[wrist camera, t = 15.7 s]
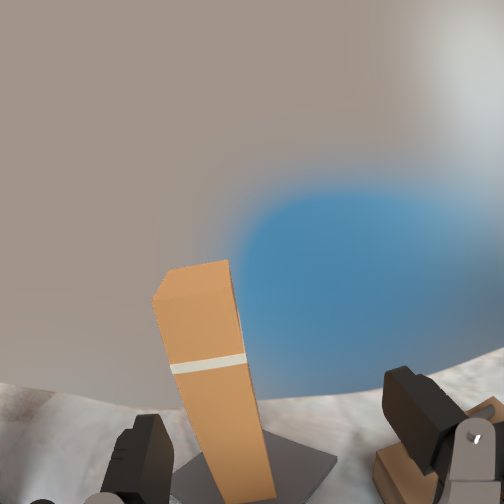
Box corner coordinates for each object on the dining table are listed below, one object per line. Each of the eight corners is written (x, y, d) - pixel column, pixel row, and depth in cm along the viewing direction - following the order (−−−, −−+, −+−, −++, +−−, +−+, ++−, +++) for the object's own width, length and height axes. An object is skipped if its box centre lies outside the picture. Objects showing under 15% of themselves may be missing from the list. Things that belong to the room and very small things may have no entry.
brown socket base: (483, 426, 20) (496, 385, 19) (562, 512, 7) (595, 472, 5) (372, 479, 20) (377, 441, 18) (435, 605, 6) (463, 589, 5)
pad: (258, 552, 15) (256, 548, 14) (162, 487, 22) (160, 482, 22) (337, 461, 23) (337, 456, 22) (242, 425, 30) (241, 420, 30)
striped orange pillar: (267, 448, 25) (228, 258, 21) (277, 497, 19) (232, 287, 15) (222, 455, 25) (168, 269, 21) (225, 505, 19) (150, 301, 15)
